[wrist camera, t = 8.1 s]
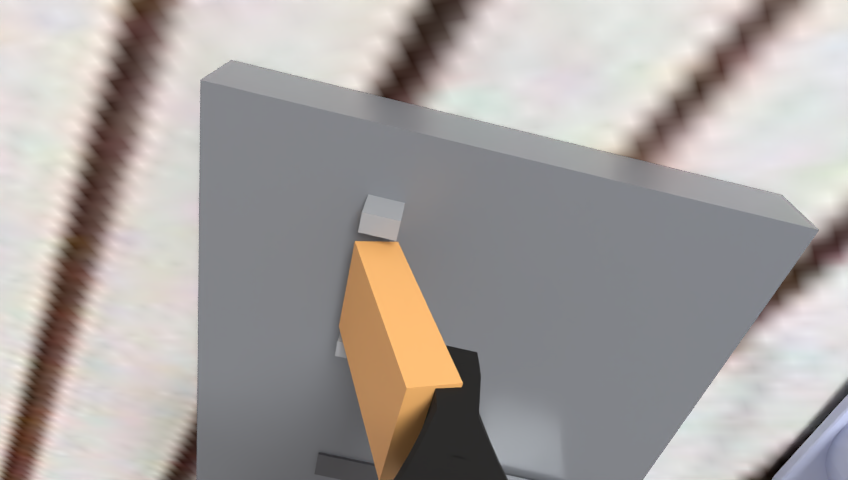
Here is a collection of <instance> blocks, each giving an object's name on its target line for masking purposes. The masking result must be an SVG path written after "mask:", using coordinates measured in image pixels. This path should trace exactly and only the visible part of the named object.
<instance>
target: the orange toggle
mask: <svg viewBox="0 0 848 480" xmlns="http://www.w3.org/2000/svg"><path fill="white" fill-rule="evenodd" d="M339 329H340V333H341V337H342V341H343V344H344V348H345V352H346V356H347V360H348V364H349V368H350V371H351V375H352V379H353V383H354V387H355V391H356V395H357V398H358V402H359V406H360V410H361V414H362V418H363V422H364V425H365V429H366V433H367V437H368V441H369V445H370V448H371V452H372V456H373V460H374V464H375V468H376V472H377V475H378V479H379V480H392V479H394V478H395V476H396V475H397V473H398V472H399V470H400V468H401V467H402V465H403V463H404V461H405V460H406V458H407V456H408V455H409V453H410V451H411V449H412V447H413V445H414V444H415V442H416V440H417V438H418V436H419V434H420V432H421V430H422V427H423V424H424V421H425V418H426V415H427V412H428V409H429V406H430V403H431V400H432V397H433V394H434V391H435V388H455V387H462V385H463V382H462V380H461V378H460V375H459V373H458V371H457V369H456V367H455V365H454V362H453V360H452V358H451V356H450V354H449V351H448V349H447V347H446V345H445V343H444V341H443V338H442V336H441V334H440V332H439V330H438V327H437V325H436V323H435V321H434V319H433V317H432V314H431V312H430V310H429V308H428V306H427V303H426V301H425V299H424V297H423V295H422V293H421V290H420V288H419V286H418V284H417V282H416V280H415V277H414V275H413V273H412V271H411V269H410V266H409V264H408V262H407V260H406V258H405V256H404V253H403V251H402V249H401V247H400V245H399V242H382V241H355V243H354V248H353V253H352V259H351V264H350V269H349V275H348V280H347V285H346V291H345V296H344V301H343V307H342V312H341V317H340V323H339Z"/></svg>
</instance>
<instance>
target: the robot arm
mask: <svg viewBox="0 0 848 480" xmlns="http://www.w3.org/2000/svg"><path fill="white" fill-rule="evenodd" d="M446 347H447V349H448V351H449V354H450V356H451V358H452V360H453V362H454V365H455V367H456V369H457V371H458V373H459V375H460V378H461V380H462V382H463V385H462V387H455V388H435V391H434V394H433V397H432V400H431V403H430V406H429V409H428V412H427V415H426V418H425V421H424V424H423V427H422V430H421V432H420V434H419V436H418V438H417V440H416V442H415V444H414V445H413V447H412V449H411V451H410V453H409V455H408V456H407V458H406V460H405V461H404V463H403V465H402V467H401V468H400V470H399V472H398V473H397V475H396V476H395V478H394V480H508V478H507V476H506V474H505V472H504V470H503V468H502V466H501V464H500V462H499V460H498V457H497V455H496V453H495V451H494V448H493V446H492V444H491V442H490V439H489V437H488V434H487V432H486V429H485V427H484V424H483V422H482V419H481V416H480V414H479V404H480V386H481V372H480V365H479V359H478V354H477V352H474V351H469V350H465V349H460V348H456V347H451V346H447V345H446ZM772 480H848V394H847V396H846V397H845V398H844V399H843V400H842V401H841V402H840V403H839V404H838V406H837V407H836V408H835V409H834V410H833V411H832V412H831V413H830V414H829V416H828V417H827V418H826V419H825V420H824V421H823V422H822V423H821V424H820V425H819V427H818V428H817V429H816V430H815V431H814V432H813V433H812V434H811V435H810V437H809V438H808V439H807V440H806V441H805V442H804V443H803V444H802V445H801V446H800V448H799V449H798V450H797V451H796V452H795V453H794V454H793V455H792V456H791V458H790V459H789V460H788V461H787V462H786V463H785V464H784V465H783V466H782V467H781V469H780V470H779V471H778V472H777V473H776V474H775V475H774V477H773V478H772Z"/></svg>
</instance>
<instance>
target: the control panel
mask: <svg viewBox="0 0 848 480" xmlns="http://www.w3.org/2000/svg"><path fill="white" fill-rule="evenodd" d="M818 231H819V229H818V228H816V227H815V226H814V225H813V224H812V223H811V222H810V221H809V220H808V219H807V218H806V217H805V216H804V215H803V214H802V213H801V212H800V211H798V210H797V209H796V208H795V207H794V206H793V205H792V204H791V203H790V202H789V201H788V200H787V199H786V198H785V197H784V196H783V195H780V194H776V193H772V192H768V191H764V190H759V189H755V188H751V187H747V186H743V185H739V184H735V183H731V182H727V181H723V180H719V179H715V178H711V177H706V176H702V175H698V174H694V173H690V172H686V171H682V170H678V169H674V168H670V167H666V166H662V165H657V164H653V163H649V162H645V161H641V160H637V159H633V158H629V157H625V156H621V155H617V154H613V153H609V152H604V151H600V150H596V149H592V148H588V147H584V146H580V145H576V144H572V143H568V142H564V141H560V140H555V139H551V138H547V137H543V136H539V135H535V134H531V133H527V132H523V131H519V130H515V129H511V128H507V127H502V126H498V125H494V124H490V123H486V122H482V121H478V120H474V119H470V118H466V117H462V116H458V115H453V114H449V113H445V112H441V111H437V110H433V109H429V108H425V107H421V106H417V105H413V104H409V103H404V102H400V101H396V100H392V99H388V98H384V97H380V96H376V95H372V94H368V93H364V92H360V91H356V90H351V89H347V88H343V87H339V86H335V85H331V84H327V83H323V82H319V81H315V80H311V79H307V78H302V77H298V76H294V75H290V74H286V73H282V72H278V71H274V70H270V69H266V68H262V67H258V66H254V65H249V64H245V63H241V62H237V61H233V60H231V61H229V62H227V63H226V64H224V65H223V66H221V67H220V68H218V69H217V70H215V71H214V72H212V73H210V74H209V75H207V76H206V77H204V78H203V79H201V88H200V188H199V288H198V389H197V480H379V479H378V475H377V472H376V468H375V464H374V460H373V456H372V452H371V448H370V445H369V441H368V437H367V433H366V429H365V425H364V422H363V418H362V414H361V410H360V406H359V402H358V398H357V395H356V391H355V387H354V383H353V379H352V375H351V371H350V368H349V364H348V360H347V356H346V352H345V348H344V344H343V341H342V337H341V333H340V329H339V323H340V317H341V312H342V307H343V301H344V296H345V291H346V285H347V280H348V275H349V269H350V264H351V259H352V253H353V248H354V243H355V241H382V242H399V245H400V247H401V249H402V251H403V253H404V256H405V258H406V260H407V262H408V264H409V266H410V269H411V271H412V273H413V275H414V277H415V280H416V282H417V284H418V286H419V288H420V290H421V293H422V295H423V297H424V299H425V301H426V303H427V306H428V308H429V310H430V312H431V314H432V317H433V319H434V321H435V323H436V325H437V327H438V330H439V332H440V334H441V336H442V338H443V341H444V343H445V345H447V346H451V347H456V348H460V349H465V350H469V351H474V352H477V354H478V359H479V365H480V372H481V386H480V404H479V414H480V416H481V419H482V422H483V424H484V427H485V429H486V432H487V434H488V437H489V439H490V442H491V444H492V446H493V448H494V451H495V453H496V455H497V457H498V460H499V462H500V464H501V466H502V468H503V470H504V472H505V474H506V475H510V476H515V477H519V478H524V479H529V480H643V479H644V477H645V476H646V475H647V473H648V472H649V470H650V469H651V467H652V466H653V465H654V463H655V462H656V460H657V459H658V457H659V456H660V455H661V453H662V452H663V450H664V449H665V448H666V446H667V445H668V443H669V442H670V440H671V439H672V438H673V436H674V435H675V433H676V432H677V431H678V429H679V428H680V426H681V425H682V423H683V422H684V421H685V419H686V418H687V416H688V415H689V414H690V412H691V411H692V409H693V408H694V406H695V405H696V404H697V402H698V401H699V399H700V398H701V397H702V395H703V394H704V392H705V391H706V389H707V388H708V387H709V385H710V384H711V382H712V381H713V380H714V378H715V377H716V375H717V374H718V372H719V371H720V370H721V368H722V367H723V365H724V364H725V363H726V361H727V360H728V358H729V357H730V355H731V354H732V353H733V351H734V350H735V348H736V347H737V346H738V344H739V343H740V341H741V340H742V338H743V337H744V336H745V334H746V333H747V331H748V330H749V329H750V327H751V326H752V324H753V323H754V321H755V320H756V319H757V317H758V316H759V314H760V313H761V312H762V310H763V309H764V307H765V306H766V304H767V303H768V302H769V300H770V299H771V297H772V296H773V294H774V293H775V292H776V290H777V289H778V287H779V286H780V285H781V283H782V282H783V280H784V279H785V277H786V276H787V275H788V273H789V272H790V270H791V269H792V268H793V266H794V265H795V263H796V262H797V260H798V259H799V258H800V256H801V255H802V253H803V252H804V251H805V249H806V248H807V246H808V245H809V243H810V242H811V241H812V239H813V238H814V236H815V235H816V234H817V232H818ZM392 480H394V479H392Z"/></svg>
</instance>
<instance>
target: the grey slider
mask: <svg viewBox="0 0 848 480" xmlns="http://www.w3.org/2000/svg"><path fill="white" fill-rule="evenodd" d="M506 476H507V478H508V480H529V479H524V478H519V477H515V476H510V475H506Z"/></svg>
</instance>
